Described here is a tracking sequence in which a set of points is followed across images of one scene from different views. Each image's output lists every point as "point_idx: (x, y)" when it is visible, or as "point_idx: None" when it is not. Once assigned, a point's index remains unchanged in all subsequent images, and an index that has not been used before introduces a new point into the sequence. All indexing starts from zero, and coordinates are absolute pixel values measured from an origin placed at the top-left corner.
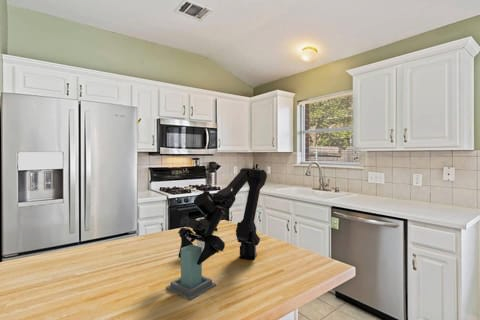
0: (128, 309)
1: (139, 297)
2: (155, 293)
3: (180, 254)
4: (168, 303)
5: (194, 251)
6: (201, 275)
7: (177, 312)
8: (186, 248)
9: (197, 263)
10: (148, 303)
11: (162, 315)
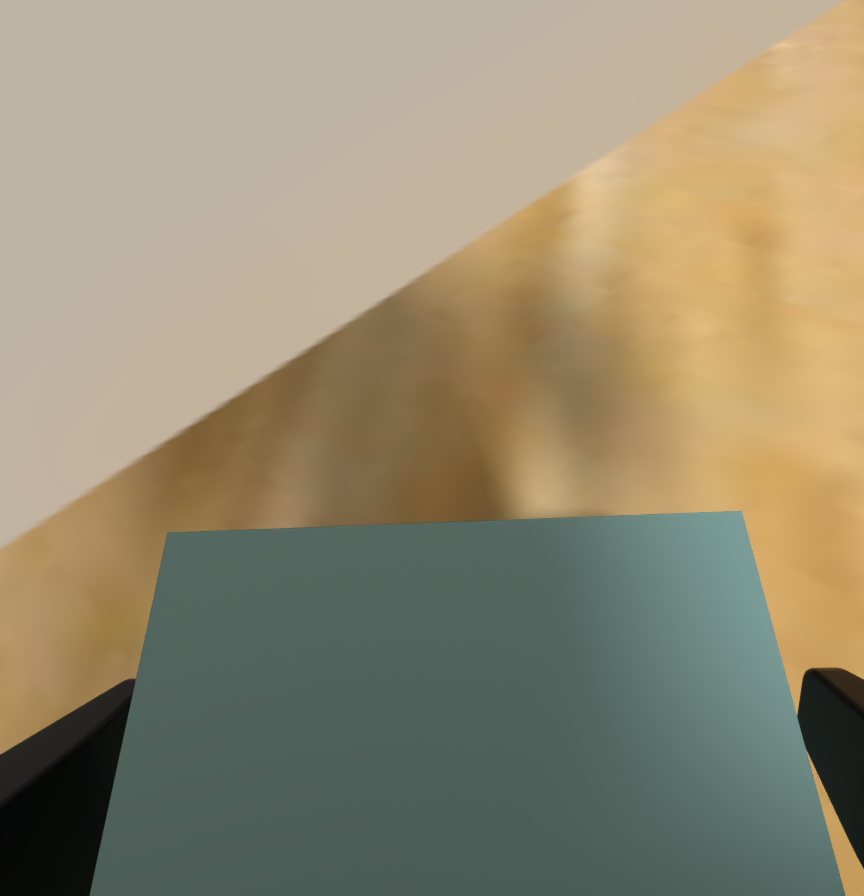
0: (576, 237)
1: (683, 338)
2: (651, 447)
3: (851, 724)
4: (418, 432)
5: (149, 740)
6: None
7: (267, 409)
8: (567, 667)
9: (128, 680)
10: (543, 341)
11: (332, 333)
